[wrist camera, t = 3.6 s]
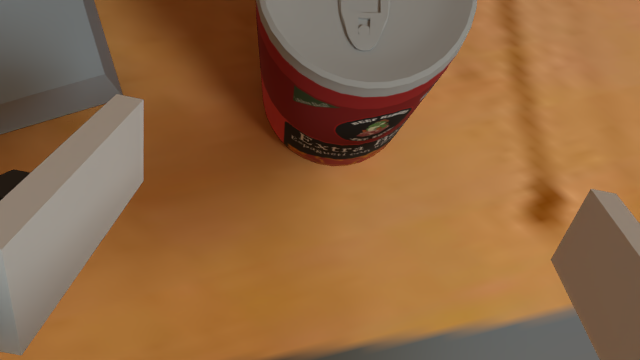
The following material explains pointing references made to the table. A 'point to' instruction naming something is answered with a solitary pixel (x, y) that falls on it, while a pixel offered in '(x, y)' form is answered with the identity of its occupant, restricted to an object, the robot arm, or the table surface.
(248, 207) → the table surface
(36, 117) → the stand
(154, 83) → the table surface
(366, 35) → the canned food
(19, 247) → the robot arm
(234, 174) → the table surface
